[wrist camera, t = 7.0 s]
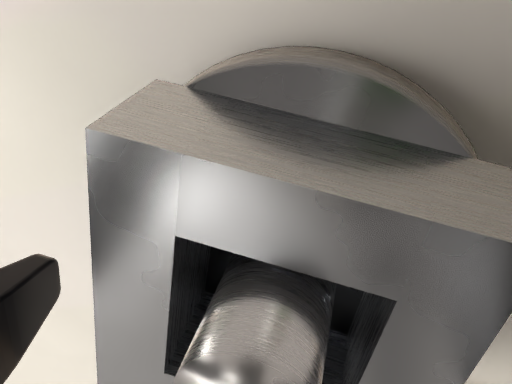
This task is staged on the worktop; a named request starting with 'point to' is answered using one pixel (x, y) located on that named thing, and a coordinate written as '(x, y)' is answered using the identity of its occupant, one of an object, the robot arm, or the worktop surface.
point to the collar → (292, 234)
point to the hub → (282, 279)
